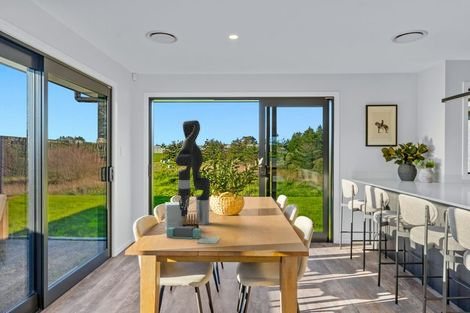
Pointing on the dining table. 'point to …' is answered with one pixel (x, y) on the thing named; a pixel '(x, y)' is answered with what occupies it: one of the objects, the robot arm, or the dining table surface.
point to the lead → (183, 231)
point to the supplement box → (173, 215)
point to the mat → (208, 240)
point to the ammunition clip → (191, 221)
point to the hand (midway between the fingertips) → (184, 215)
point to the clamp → (195, 236)
